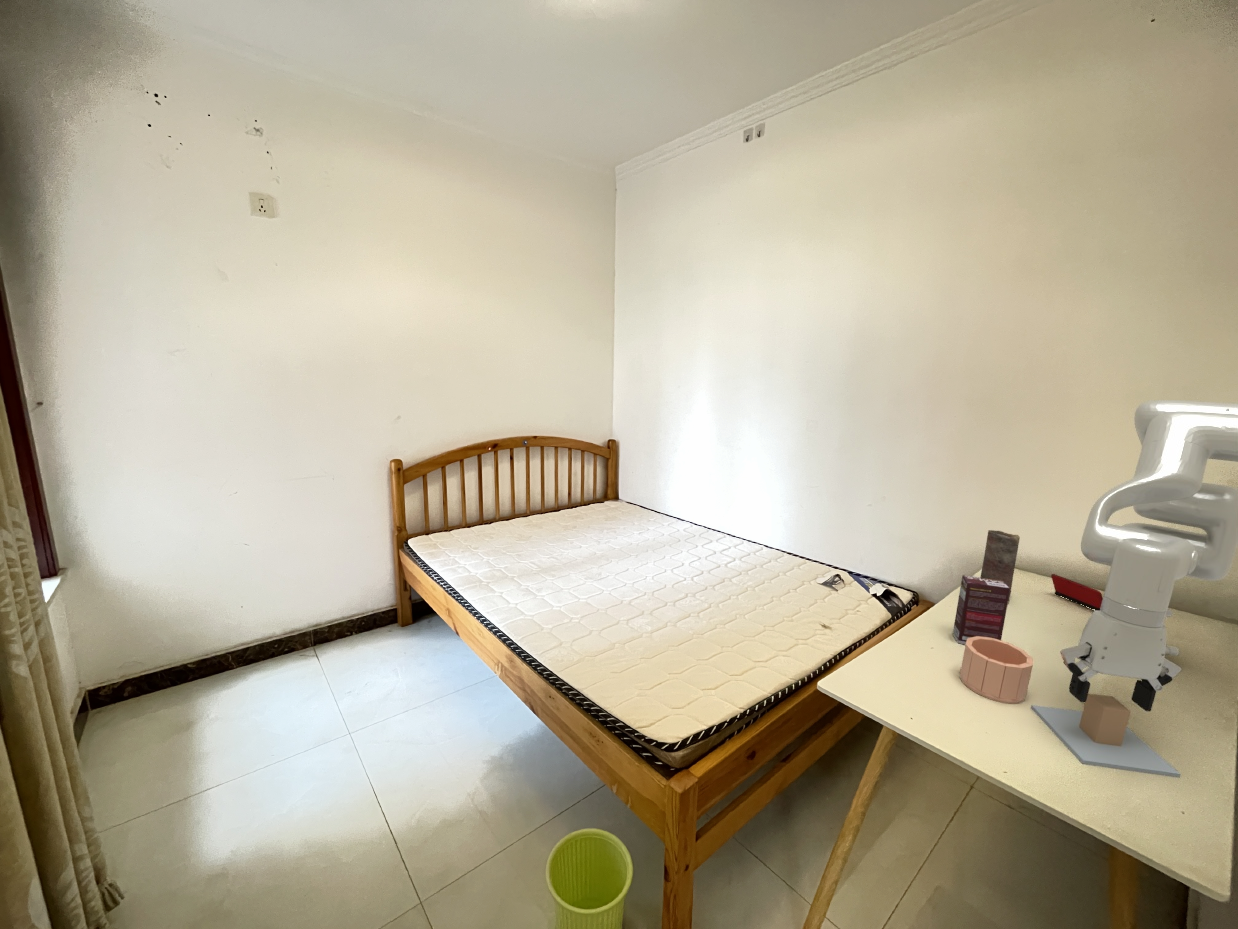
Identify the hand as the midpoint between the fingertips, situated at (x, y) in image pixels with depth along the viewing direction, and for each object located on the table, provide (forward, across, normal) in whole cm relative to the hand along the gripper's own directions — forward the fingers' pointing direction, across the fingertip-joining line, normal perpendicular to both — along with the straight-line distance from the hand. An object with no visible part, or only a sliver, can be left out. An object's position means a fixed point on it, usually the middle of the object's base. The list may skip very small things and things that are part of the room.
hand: (1108, 701), depth 88 cm
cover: (+8, 0, -1) cm, 9 cm away
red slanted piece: (+7, -36, -61) cm, 71 cm away
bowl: (+8, +10, -14) cm, 19 cm away
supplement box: (+8, +6, -32) cm, 33 cm away
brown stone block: (+7, -12, -59) cm, 60 cm away
